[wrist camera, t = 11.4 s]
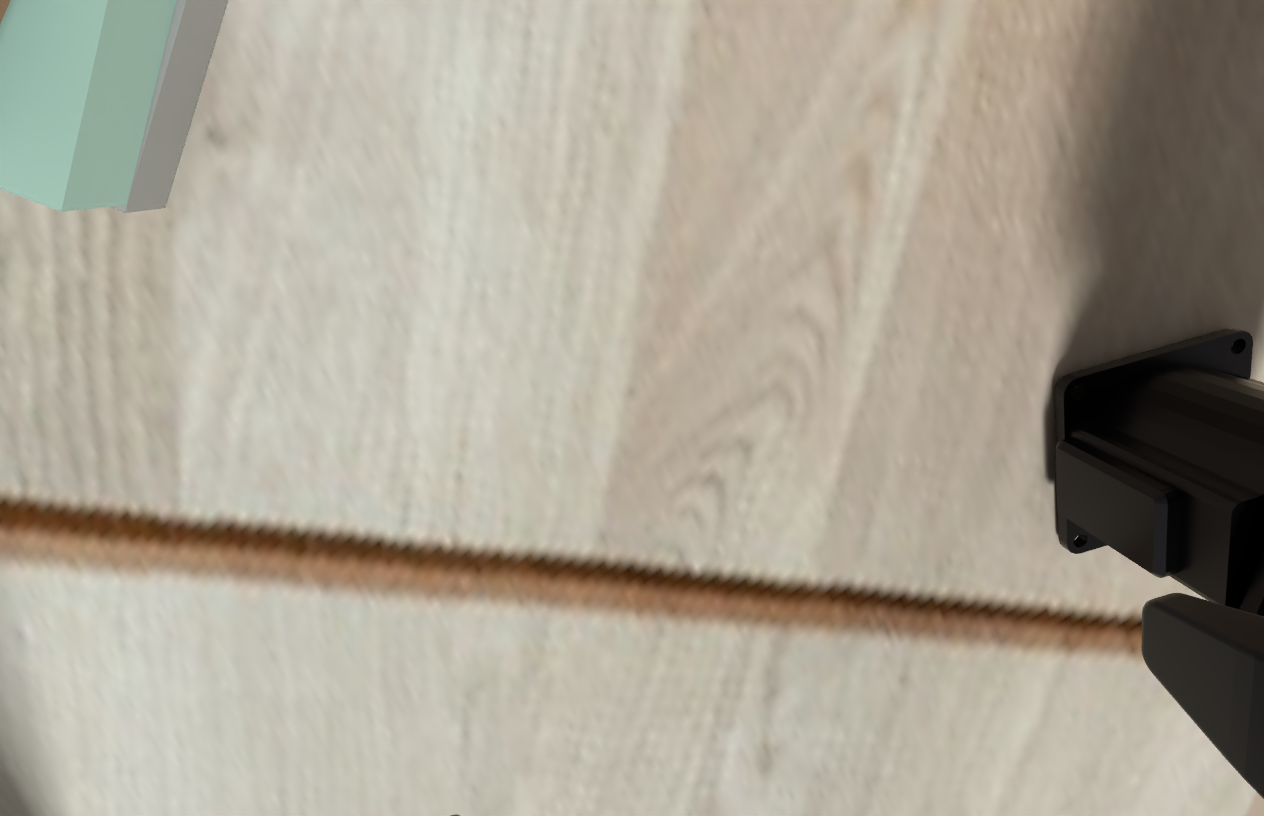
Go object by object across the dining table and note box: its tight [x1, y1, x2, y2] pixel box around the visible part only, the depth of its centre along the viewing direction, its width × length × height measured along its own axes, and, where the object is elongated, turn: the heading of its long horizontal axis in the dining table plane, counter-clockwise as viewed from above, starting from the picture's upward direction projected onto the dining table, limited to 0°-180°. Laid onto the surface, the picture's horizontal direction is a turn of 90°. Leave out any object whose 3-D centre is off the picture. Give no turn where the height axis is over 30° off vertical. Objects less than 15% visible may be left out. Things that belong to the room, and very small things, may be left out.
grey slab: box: [111, 0, 228, 213], centre depth 15 cm, size 6×6×2 cm
